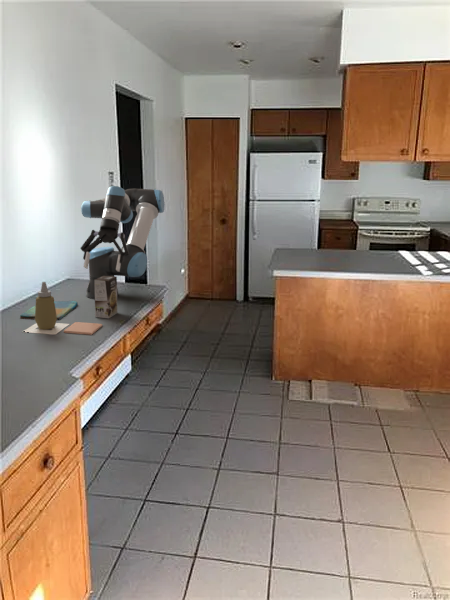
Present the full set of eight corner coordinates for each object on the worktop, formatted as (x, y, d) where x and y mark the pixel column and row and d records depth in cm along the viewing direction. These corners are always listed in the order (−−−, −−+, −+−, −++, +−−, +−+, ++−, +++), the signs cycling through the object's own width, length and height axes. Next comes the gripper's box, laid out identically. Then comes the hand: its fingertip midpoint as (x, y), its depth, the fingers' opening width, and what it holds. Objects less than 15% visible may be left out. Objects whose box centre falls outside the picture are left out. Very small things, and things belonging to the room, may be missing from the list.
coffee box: (109, 318, 209) (108, 280, 204) (94, 317, 210) (93, 279, 206) (118, 312, 217) (117, 276, 213) (104, 311, 218) (103, 275, 214)
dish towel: (79, 306, 227) (78, 300, 226) (60, 321, 204) (60, 315, 204) (41, 304, 228) (41, 298, 227) (18, 319, 205) (18, 313, 204)
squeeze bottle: (55, 330, 191) (53, 284, 186) (33, 331, 190) (30, 284, 185) (59, 324, 199) (56, 279, 194) (37, 324, 197) (34, 279, 193)
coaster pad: (75, 323, 200) (75, 321, 200) (102, 325, 199) (102, 323, 199) (63, 332, 190) (63, 330, 190) (91, 334, 189) (91, 332, 188)
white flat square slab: (38, 321, 201) (38, 321, 201) (69, 324, 200) (69, 323, 200) (22, 332, 189) (22, 331, 189) (55, 334, 187) (55, 334, 187)
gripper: (79, 215, 210) (69, 263, 205) (137, 220, 208) (128, 268, 202) (85, 223, 217) (75, 269, 212) (141, 227, 215) (133, 274, 209)
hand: (101, 269), depth 207 cm, fingers open, 13 cm apart
